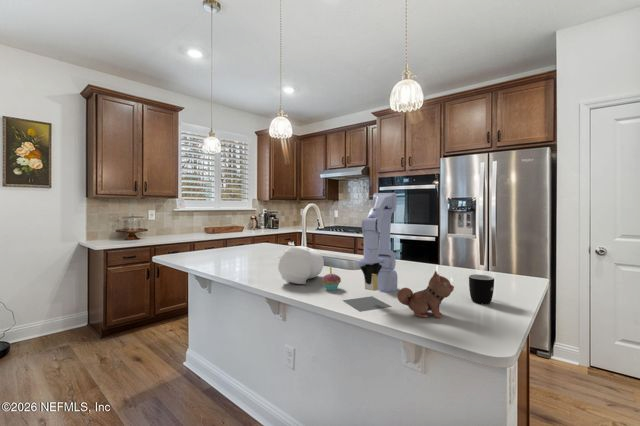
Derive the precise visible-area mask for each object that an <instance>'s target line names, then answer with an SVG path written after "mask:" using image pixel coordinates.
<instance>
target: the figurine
mask: <svg viewBox="0 0 640 426" xmlns="http://www.w3.org/2000/svg"><path fill="white" fill-rule="evenodd" d="M454 289H455V286H454V285H452V284H451V282H450V280H449V279H448V278H447V277H445V276H442V275H440V274H439V273H437V270H435V271H434V274H433V275H432V276H431V277H430V279H429V281H428V285H427V286H426V288H425V289H422V290H419V291H416V292H413V290H412V289H410V288H409V287H402V288H400V290H398V293H397V300H398V302H399V303H401V304H402V305H404V306H407V307H408V308H409V309H410V310H411V311H412V312H413V313H414V315H415V316H416V317H419V318H424V319H425V318H426V319H427V318H429V314H428V313H427V312H430V311H431V313H432V315H433V316H434V317H435V318H442V317H443V314H441V312H440V306H441V304H442V301H444V299H445V298H448V297H450V295H451V293H452V292H454Z"/></svg>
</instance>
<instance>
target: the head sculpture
mask: <svg viewBox="0 0 640 426" xmlns="http://www.w3.org/2000/svg"><path fill="white" fill-rule="evenodd" d="M287 245H288V247H287V248H286V249H285V250H284V252H283V254H281V256H280V258H279V260H278V265H277V269H278V272H279V274H280V276H281V278H282V279H283V280H284V281H286V282H289V283H291V284H297V285H304V284H306V283H307V280H310V279H313V278H316V277H317V276H319V275H320V274H321V273H322V271H323V268H324V265H325V264H324V263H325V261H324V257H323V255H322V254H321V253H320V251H318V250H316V249H313V248H311V247H308V246H303V245H297V246H295V244H294V243H293V242H292V241H288V243H287Z"/></svg>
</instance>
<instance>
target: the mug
mask: <svg viewBox="0 0 640 426" xmlns="http://www.w3.org/2000/svg"><path fill="white" fill-rule="evenodd" d="M468 288H469V295H470V299H471V301H472V302H473V303H475V304H477V305H490V304H491V302H492V299H493V295H494V290H495V278H494V276H491V275H487V274H476V273H475V274H469V275H468Z"/></svg>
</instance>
